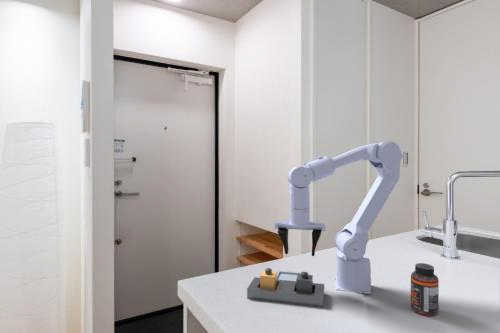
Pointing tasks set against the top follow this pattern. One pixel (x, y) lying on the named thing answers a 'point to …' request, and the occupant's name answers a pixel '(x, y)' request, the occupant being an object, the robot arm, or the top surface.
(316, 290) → the strip
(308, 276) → the grey block with knob
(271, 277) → the plug
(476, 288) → the top surface
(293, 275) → the tray
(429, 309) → the supplement bottle
